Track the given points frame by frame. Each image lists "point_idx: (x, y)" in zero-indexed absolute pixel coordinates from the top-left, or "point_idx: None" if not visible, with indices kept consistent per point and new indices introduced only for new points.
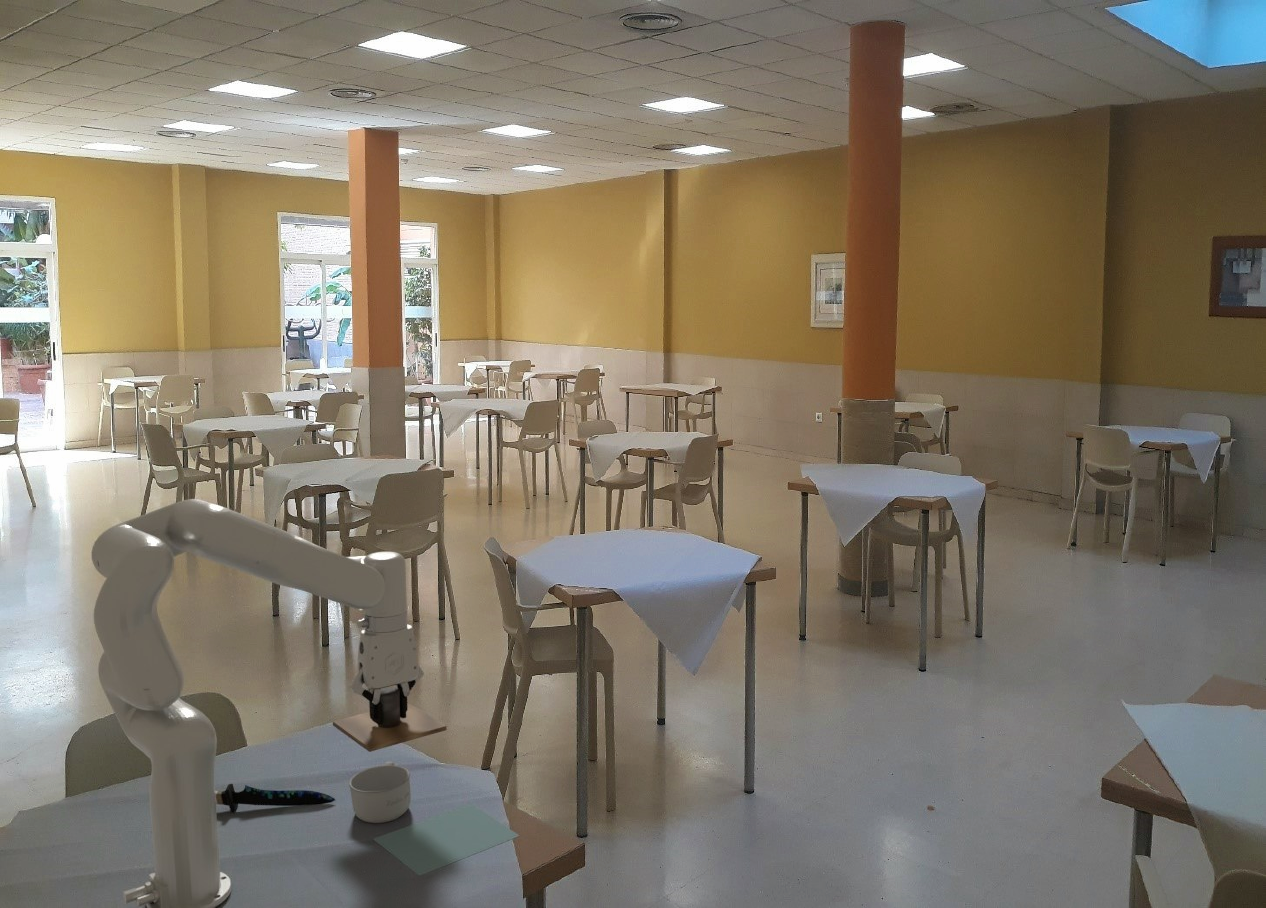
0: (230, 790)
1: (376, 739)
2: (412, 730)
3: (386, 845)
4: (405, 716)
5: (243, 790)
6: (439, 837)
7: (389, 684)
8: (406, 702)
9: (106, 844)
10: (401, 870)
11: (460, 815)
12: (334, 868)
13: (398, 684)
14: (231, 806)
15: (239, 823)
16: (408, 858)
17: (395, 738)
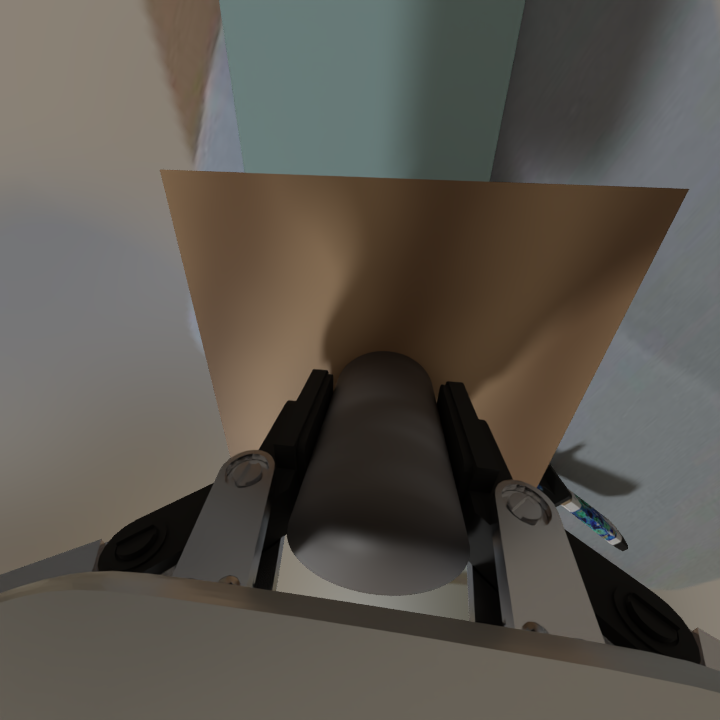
0: (559, 495)
1: (557, 274)
2: (344, 248)
3: (483, 164)
4: (317, 370)
5: (541, 486)
6: (377, 105)
7: (491, 676)
8: (276, 429)
9: (711, 495)
10: (521, 36)
11: None
12: (600, 177)
13: (259, 582)
14: (554, 471)
15: (564, 434)
16: (494, 48)
17: (480, 207)
